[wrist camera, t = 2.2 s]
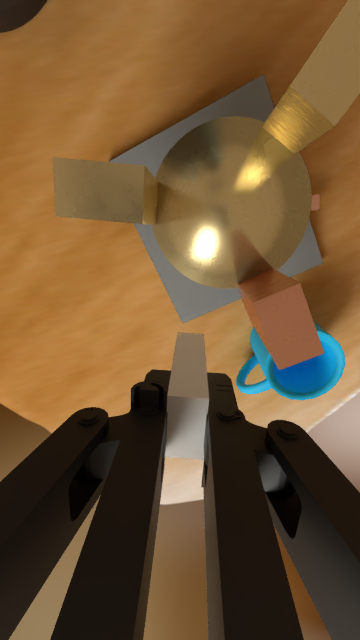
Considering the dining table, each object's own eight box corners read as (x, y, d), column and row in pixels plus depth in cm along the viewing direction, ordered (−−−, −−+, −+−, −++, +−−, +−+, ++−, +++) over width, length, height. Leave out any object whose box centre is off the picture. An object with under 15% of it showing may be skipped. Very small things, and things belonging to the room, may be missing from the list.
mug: (290, 294, 36) (317, 313, 28) (325, 341, 37) (360, 371, 30) (214, 350, 38) (220, 381, 31) (251, 391, 40) (264, 430, 32)
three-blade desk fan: (87, 190, 24) (30, 170, 16) (317, 63, 21) (402, -49, 12) (174, 357, 29) (165, 412, 20) (373, 275, 25) (465, 301, 17)
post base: (107, 166, 32) (76, 144, 23) (277, 71, 29) (312, 5, 20) (182, 320, 37) (179, 348, 29) (333, 255, 34) (380, 266, 25)
